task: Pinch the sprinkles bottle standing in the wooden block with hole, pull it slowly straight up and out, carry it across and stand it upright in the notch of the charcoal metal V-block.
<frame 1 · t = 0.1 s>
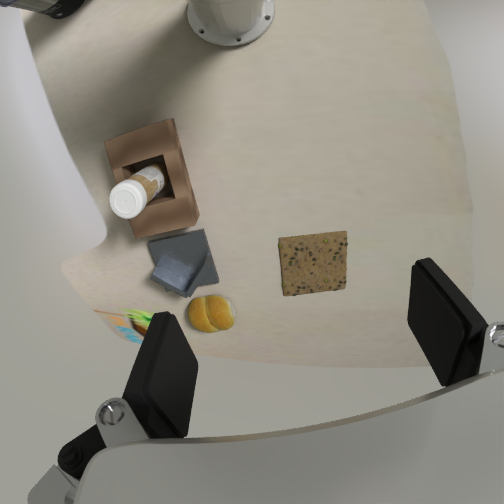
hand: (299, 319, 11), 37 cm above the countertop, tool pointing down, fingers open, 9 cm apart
bread roll: (213, 308, 57), on the countertop
wooden block with hole: (156, 175, 45), on the countertop
v block: (183, 258, 51), on the countertop
cookie: (313, 263, 53), on the countertop
sprinkles bottle: (157, 175, 45), resting in wooden block with hole
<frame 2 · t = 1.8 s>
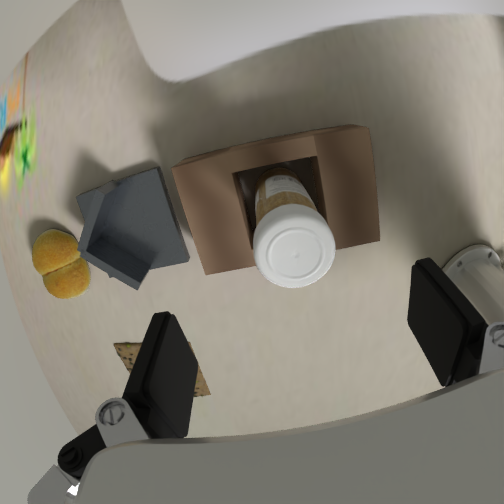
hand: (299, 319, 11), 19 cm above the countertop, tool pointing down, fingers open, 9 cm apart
bread roll: (66, 260, 32), on the countertop
wooden block with hole: (279, 189, 28), on the countertop
v block: (136, 223, 30), on the countertop
cookie: (164, 368, 41), on the countertop
sprinkles bottle: (279, 189, 28), resting in wooden block with hole
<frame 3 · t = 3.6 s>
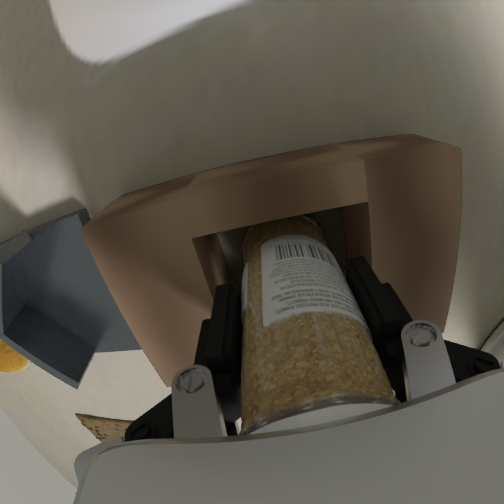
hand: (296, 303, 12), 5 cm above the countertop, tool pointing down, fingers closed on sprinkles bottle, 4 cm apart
bread roll: (3, 322, 21), on the countertop
wooden block with hole: (284, 246, 16), on the countertop
v block: (68, 290, 18), on the countertop
cookie: (138, 440, 29), on the countertop
sprinkles bottle: (284, 244, 17), resting in wooden block with hole, touching gripper
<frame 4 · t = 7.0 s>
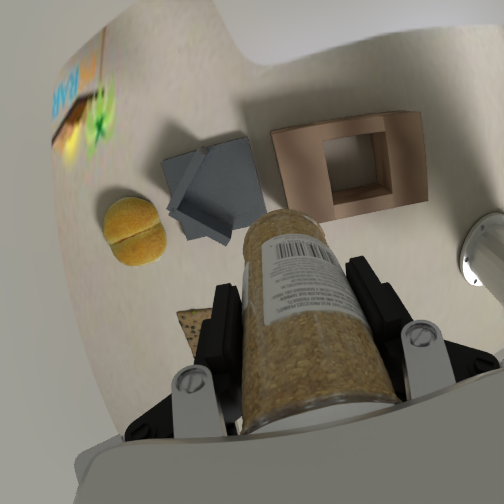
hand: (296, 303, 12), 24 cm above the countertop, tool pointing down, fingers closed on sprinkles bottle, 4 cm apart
bread roll: (138, 228, 37), on the countertop
wooden block with hole: (347, 160, 32), on the countertop
v block: (220, 188, 34), on the countertop
cookie: (225, 335, 45), on the countertop
sprinkles bottle: (285, 244, 17), point 18 cm above the countertop, touching gripper
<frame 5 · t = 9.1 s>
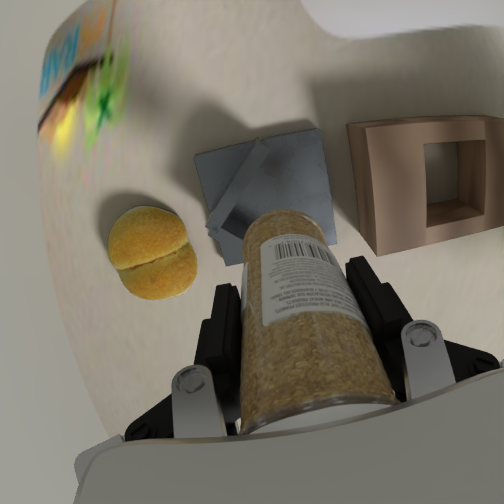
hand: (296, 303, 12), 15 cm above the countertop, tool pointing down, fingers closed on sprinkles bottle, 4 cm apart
bread roll: (156, 248, 28), on the countertop
wooden block with hole: (431, 169, 23), on the countertop
v block: (275, 196, 25), on the countertop
sprinkles bottle: (284, 244, 17), point 9 cm above the countertop, touching gripper
when the fingers open (8 cm above the countertop, at t = 10.7 s): sprinkles bottle drops 1 cm, resting on v block.
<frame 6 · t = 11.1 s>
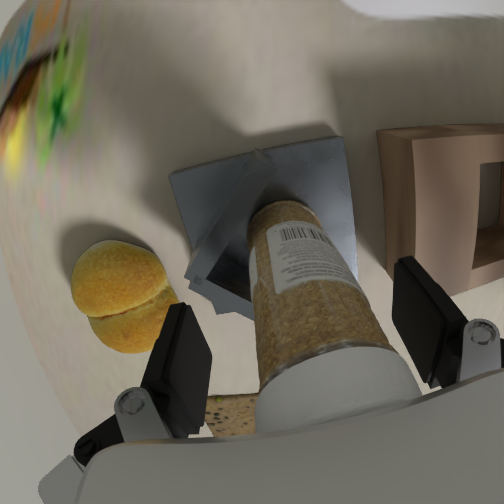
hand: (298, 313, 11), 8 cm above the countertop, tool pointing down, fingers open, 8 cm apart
bread roll: (131, 289, 22), on the countertop
wooden block with hole: (473, 190, 17), on the countertop
v block: (280, 227, 19), on the countertop
cookie: (259, 418, 30), on the countertop
sprinkles bottle: (284, 233, 18), point 1 cm above the countertop, touching v block
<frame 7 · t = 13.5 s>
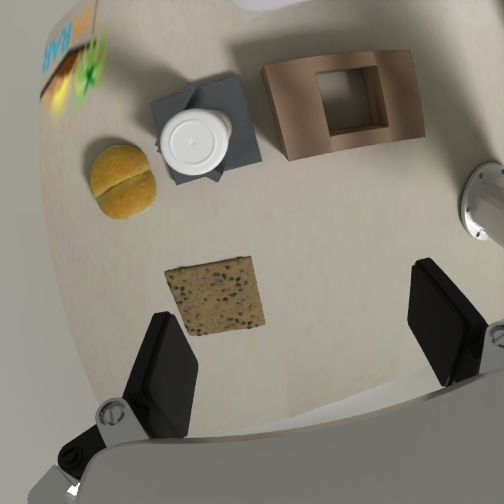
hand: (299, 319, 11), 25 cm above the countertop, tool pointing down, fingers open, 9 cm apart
bread roll: (126, 180, 34), on the countertop
wooden block with hole: (340, 99, 30), on the countertop
v block: (210, 128, 31), on the countertop
cookie: (217, 297, 42), on the countertop
sprinkles bottle: (211, 128, 30), point 1 cm above the countertop, touching v block
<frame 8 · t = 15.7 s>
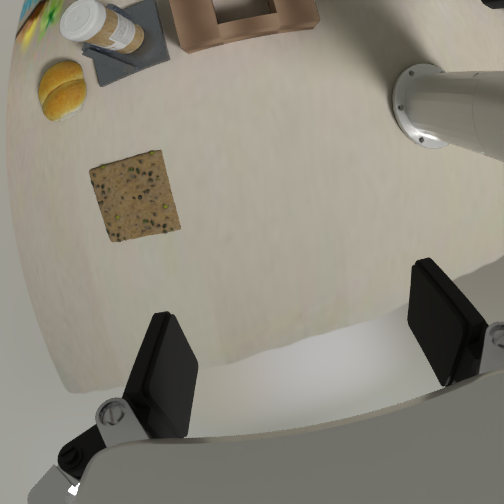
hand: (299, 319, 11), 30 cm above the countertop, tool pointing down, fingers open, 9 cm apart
bread roll: (67, 91, 32), on the countertop
wooden block with hole: (241, 6, 28), on the countertop
v block: (131, 40, 29), on the countertop
cookie: (135, 197, 40), on the countertop
sprinkles bottle: (130, 39, 29), point 1 cm above the countertop, touching v block
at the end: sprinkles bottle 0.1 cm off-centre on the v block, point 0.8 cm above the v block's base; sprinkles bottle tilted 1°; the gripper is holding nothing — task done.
